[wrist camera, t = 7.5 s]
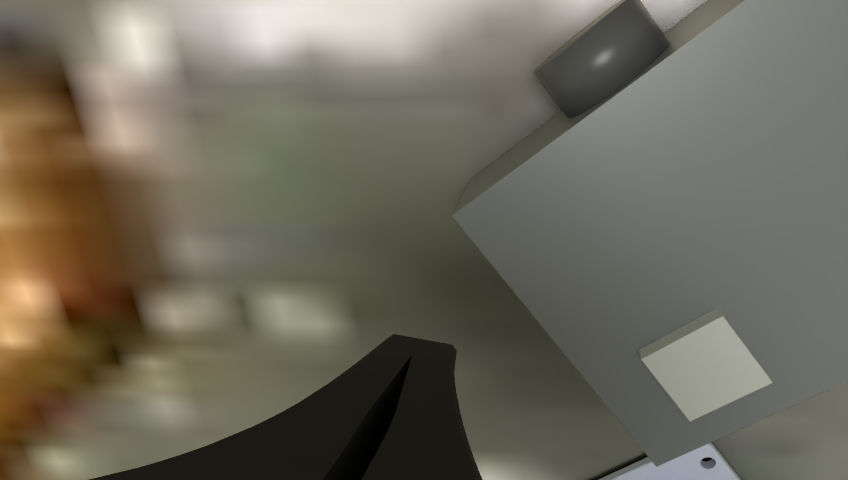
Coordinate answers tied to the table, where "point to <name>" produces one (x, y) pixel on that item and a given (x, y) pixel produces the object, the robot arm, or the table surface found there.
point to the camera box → (685, 214)
